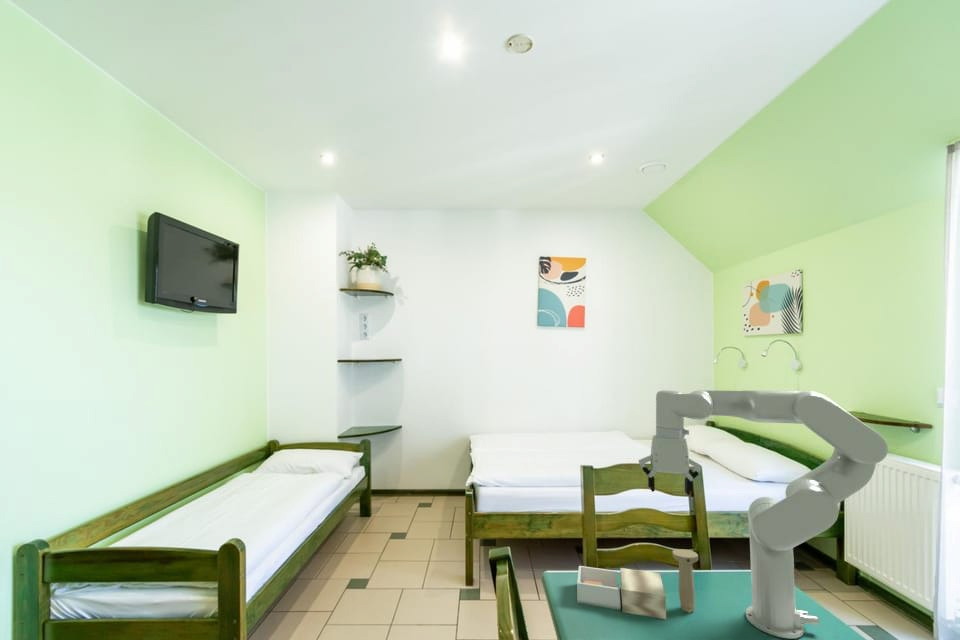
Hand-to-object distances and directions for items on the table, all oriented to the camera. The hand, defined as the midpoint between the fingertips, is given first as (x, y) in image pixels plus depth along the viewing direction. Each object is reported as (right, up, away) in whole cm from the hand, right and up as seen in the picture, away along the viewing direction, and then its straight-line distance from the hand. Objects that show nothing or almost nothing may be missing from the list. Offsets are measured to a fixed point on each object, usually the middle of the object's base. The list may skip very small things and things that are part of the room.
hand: (669, 491), depth 127 cm
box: (-21, -30, -2) cm, 37 cm away
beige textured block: (-10, -29, -5) cm, 31 cm away
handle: (+1, -29, -8) cm, 31 cm away
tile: (-23, -27, -2) cm, 35 cm away
